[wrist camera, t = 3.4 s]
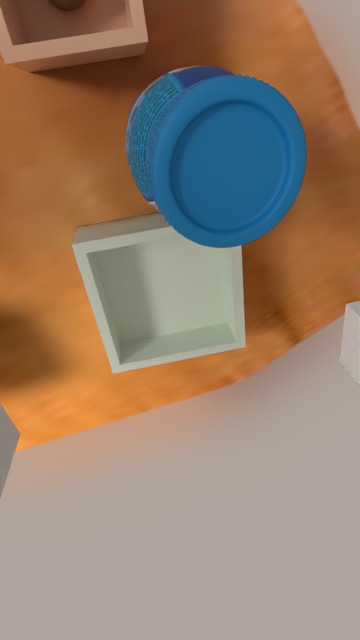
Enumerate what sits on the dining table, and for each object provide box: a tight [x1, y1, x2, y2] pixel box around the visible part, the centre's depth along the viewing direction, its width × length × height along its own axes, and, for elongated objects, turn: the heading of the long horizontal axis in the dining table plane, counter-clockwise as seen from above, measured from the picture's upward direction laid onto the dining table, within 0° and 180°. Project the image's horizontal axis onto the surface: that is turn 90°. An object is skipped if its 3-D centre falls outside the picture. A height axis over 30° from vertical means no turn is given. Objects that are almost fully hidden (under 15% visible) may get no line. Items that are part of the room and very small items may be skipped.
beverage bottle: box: [126, 65, 307, 248], centre depth 23 cm, size 8×8×20 cm
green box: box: [71, 213, 246, 374], centre depth 36 cm, size 15×15×5 cm
